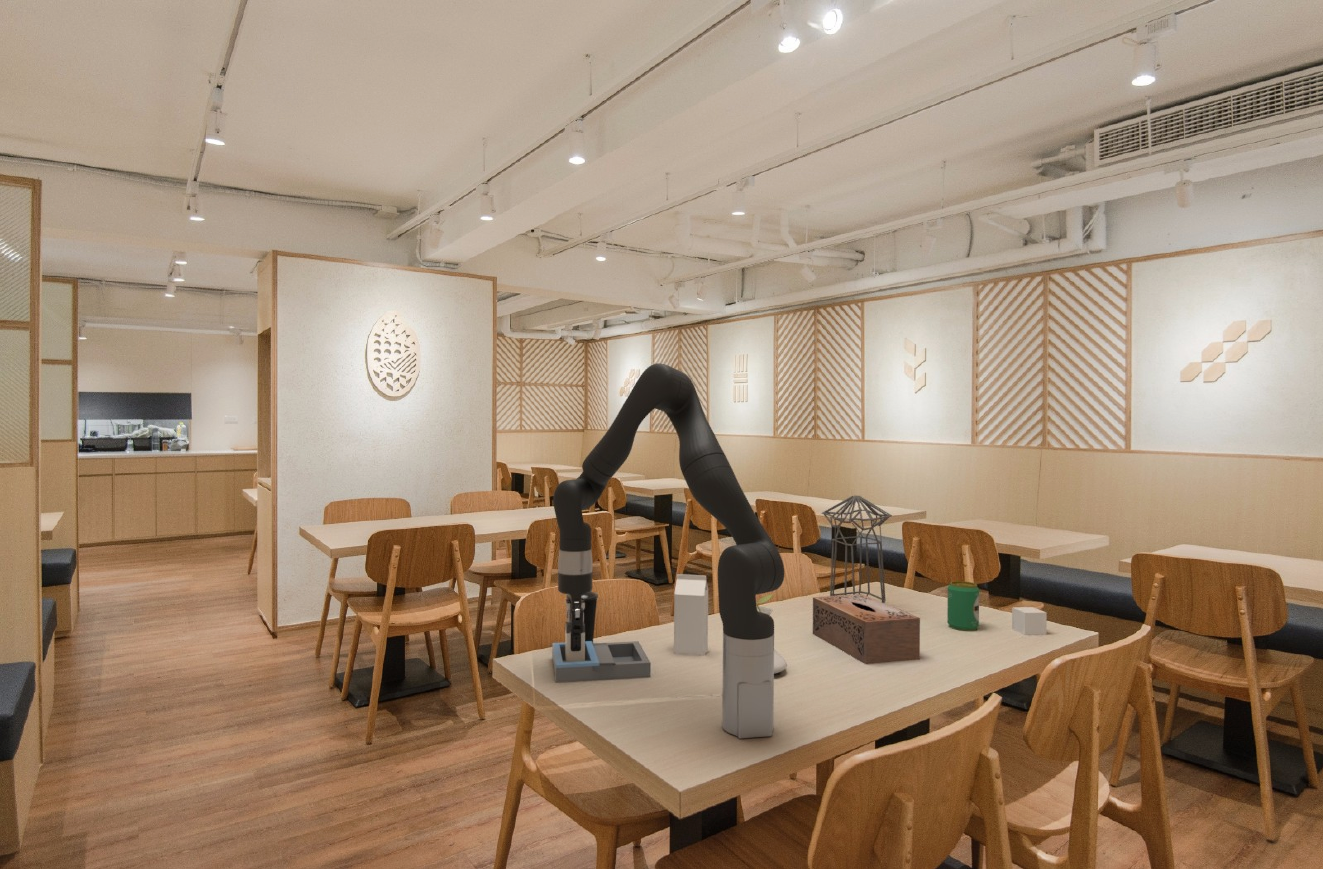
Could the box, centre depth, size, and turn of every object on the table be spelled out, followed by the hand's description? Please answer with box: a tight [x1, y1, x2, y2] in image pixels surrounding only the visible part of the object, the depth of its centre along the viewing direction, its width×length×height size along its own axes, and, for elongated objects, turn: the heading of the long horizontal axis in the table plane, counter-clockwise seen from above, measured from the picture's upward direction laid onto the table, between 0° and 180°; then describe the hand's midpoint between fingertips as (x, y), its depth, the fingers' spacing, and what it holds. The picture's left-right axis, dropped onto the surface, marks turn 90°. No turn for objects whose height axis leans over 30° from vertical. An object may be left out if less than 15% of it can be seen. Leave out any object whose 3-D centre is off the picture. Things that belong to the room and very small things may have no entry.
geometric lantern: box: [821, 495, 893, 604], centre depth 214 cm, size 16×16×35 cm
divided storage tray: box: [551, 640, 652, 684], centre depth 162 cm, size 16×20×5 cm
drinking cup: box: [566, 590, 599, 644], centre depth 177 cm, size 8×8×20 cm
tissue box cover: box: [812, 593, 921, 665], centre depth 183 cm, size 26×14×10 cm, turn 16°
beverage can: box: [946, 580, 980, 632], centre depth 201 cm, size 8×8×12 cm
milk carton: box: [673, 573, 709, 656], centre depth 176 cm, size 7×7×19 cm
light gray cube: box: [1011, 606, 1048, 636], centre depth 197 cm, size 6×6×6 cm
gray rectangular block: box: [564, 621, 585, 662], centre depth 161 cm, size 4×4×8 cm
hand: (574, 647), depth 161 cm, fingers closed on gray rectangular block, 4 cm apart
